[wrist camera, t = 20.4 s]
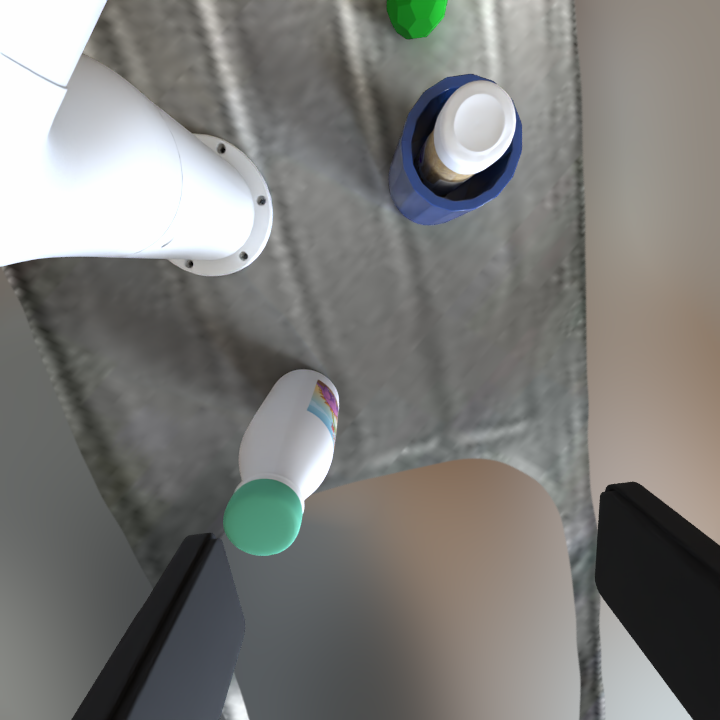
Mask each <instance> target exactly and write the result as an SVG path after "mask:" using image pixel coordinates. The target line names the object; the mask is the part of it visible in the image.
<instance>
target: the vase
mask: <svg viewBox="0 0 720 720" xmlns="http://www.w3.org/2000/svg"><path fill="white" fill-rule="evenodd" d="M479 80H484V81H490V82H493V83H495V82H494V81H492V80H489V79H486V78H483V77H480V76H477V75H474V74H466V75H459V76H452V77H447V78H444V79H443V80H441V81H440V82H438V83H437V84H435V85H434V86H432V87H431V88H429V89H427V90H426V91H425V92H424V93H423V94H422V95H421V97H420V98H419V99H418V101H417V102H416V104H415V105H414V107H413V108H412V109H411V111H410V112H409V114H408V116H407V119H406V122H405V124H404V127H403V130H402V133H401V136H400V138H399V141H398V144H397V147H396V150H395V152H394V155H393V159H392V163H391V166H390V170H389V179H388V180H389V190H390V194H391V197H392V200H393V202H394V204H395V206H396V207H397V209H398V210H399V211H400V212H401V213H402V214H403V215H404V216H405V217H406V218H408V219H409V220H411V221H413V222H415V223H418V224H422V225H437V224H441V223H446V222H448V221H450V220H452V219H455V218H457V217H459V216H461V215H463V214H466V213H468V212H470V211H472V210H474V209H476V208H478V207H480V206H482V205H483V204H485V203H487V202H488V201H490V200H492V199H493V198H495V197H497V196H498V195H499V193H500V192H501V191H502V190H503V188H504V187H505V186H506V185H507V183H508V182H509V181H510V180H511V178H512V177H513V175H514V172H515V169H516V166H517V164H518V161H519V158H520V155H521V152H522V124H521V120H520V118H519V115H518V113H517V110H516V108H515V105H514V103H513V105H514V109H515V114H516V126H515V132H514V136H513V138H512V141H511V143H510V145H509V147H508V148H507V150H506V151H505V152H504V154H503V155H502V156H501V157H500V158H499V159H498V160H496V161H495V162H494V163H493V164H491V165H490V166H488V167H487V168H486V169H484V170H482V171H480V172H478V173H475V174H474V175H473V176H472V177H470V178H469V179H468V180H466V181H465V182H464V183H462V184H461V185H460V186H458V187H457V188H455V189H454V190H453V191H451V192H450V193H448V194H447V195H446V196H445V197H444V198H442V197H439V196H436V195H435V194H434V193H433V192H432V191H431V190H429V189H428V188H427V187H426V186H425V185H424V184H423V183H422V182H421V180H420V178H419V176H418V174H417V172H416V170H415V167H414V165H413V160H414V158H415V157H416V156H417V154H418V152H419V151H420V149H421V148H422V146H423V145H424V143H425V141H426V140H427V138H428V136H429V135H430V134H431V133H432V131H433V130H434V128H435V124H436V120H437V118H438V115H439V113H440V112H441V110H442V108H443V106H444V105H445V103H446V102H447V100H448V99H449V98H450V96H451V95H452V94H453V93H454V92H455V91H456V90H457V89H458V88H460V87H461V86H463V85H465V84H467V83H469V82H473V81H479ZM495 84H496V83H495ZM511 100H512V99H511ZM512 102H513V100H512Z"/></svg>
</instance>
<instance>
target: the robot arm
mask: <svg viewBox="0 0 720 720" xmlns="http://www.w3.org/2000/svg"><path fill="white" fill-rule="evenodd" d="M106 2H107V0H0V267H1V266H5V265H10V264H14V263H18V262H23V261H28V260H34V259H41V258H50V257H115V258H151V259H168V260H169V261H170V262H171V263H173V264H174V265H176V266H178V267H180V268H181V269H183V270H185V271H188V272H191V273H194V274H197V275H204V276H222V275H228V274H231V273H234V272H237V271H240V270H241V269H243V268H245V267H246V266H248V265H250V264H251V263H252V262H253V261H254V260H255V259H256V258H257V257H258V256H259V254H260V253H261V252H262V250H263V249H264V247H265V245H266V243H267V240H268V238H269V236H270V231H271V227H272V217H273V209H272V202H271V196H270V193H269V190H268V187H267V184H266V182H265V180H264V178H263V176H262V174H261V172H260V171H259V170H258V168H257V167H256V166H255V165H254V163H253V162H252V161H251V160H250V159H249V158H248V157H247V156H246V155H245V154H244V153H243V152H242V151H241V150H239V149H238V148H237V147H235V146H234V145H233V144H231V143H229V142H227V141H225V140H223V139H221V138H218V137H214V136H211V135H207V134H192V133H191V132H189V131H188V130H187V129H186V128H184V127H183V126H182V125H181V124H179V123H178V122H177V121H176V120H175V119H173V118H172V117H171V116H170V115H168V114H167V113H166V112H165V111H163V110H162V109H161V108H160V107H158V106H157V105H156V104H155V103H153V102H152V101H151V100H150V99H148V98H147V97H146V96H145V95H144V94H143V93H141V92H140V91H139V90H138V89H137V88H136V87H134V86H133V85H132V84H131V83H129V82H128V81H127V80H125V79H124V78H123V77H121V76H120V75H119V74H117V73H116V72H115V71H113V70H112V69H110V68H109V67H107V66H105V65H104V64H102V63H100V62H99V61H97V60H95V59H93V58H91V57H89V56H87V55H85V54H83V53H82V52H83V50H84V48H85V46H86V43H87V41H88V39H89V37H90V35H91V33H92V31H93V29H94V27H95V25H96V22H97V20H98V18H99V16H100V14H101V12H102V10H103V8H104V6H105V4H106ZM223 149H226V151H225V152H224V153H222V150H223ZM262 199H265V204H261V200H262ZM244 254H247V255H248V258H247V259H245V258H244ZM191 261H192V262H193V266H191ZM595 582H596V586H597V589H598V591H599V593H600V595H601V596H602V597H603V599H604V600H605V602H606V603H607V605H608V606H609V607H610V608H611V610H612V611H613V613H614V614H615V615H616V617H617V618H618V619H619V621H620V622H621V623H622V625H623V626H624V627H625V629H626V630H627V631H628V633H629V634H630V635H631V637H632V638H633V639H634V641H635V642H636V643H637V645H638V646H639V648H640V649H641V650H642V652H643V653H644V654H645V656H646V657H647V658H648V660H649V661H650V662H651V663H652V665H653V666H654V668H655V669H656V670H657V672H658V673H659V674H660V676H661V677H662V678H663V680H664V681H665V682H666V684H667V685H668V687H669V688H670V689H671V691H672V692H673V693H674V694H675V696H676V697H677V699H678V700H679V701H680V703H681V704H682V705H683V707H684V708H685V709H686V711H687V712H688V713H689V715H690V716H691V717H692V719H693V720H720V545H718V544H717V543H716V542H714V541H713V540H712V539H711V538H709V537H708V536H706V535H705V534H704V533H703V532H701V531H700V530H699V529H698V528H696V527H695V526H694V525H692V524H691V523H690V522H688V521H687V520H686V519H685V518H683V517H682V516H681V515H679V514H678V513H677V512H675V511H674V510H673V509H672V508H670V507H669V506H668V505H666V504H665V503H664V502H662V501H661V500H660V499H659V498H657V497H656V496H654V495H653V494H652V493H650V492H649V491H648V490H647V489H645V488H644V487H643V486H642V485H640V484H638V483H636V482H627V483H618V484H611V485H608V486H607V487H606V490H605V492H602V493H601V495H600V505H599V521H598V537H597V553H596V569H595ZM244 632H245V620H244V616H243V612H242V609H241V605H240V601H239V598H238V595H237V591H236V588H235V584H234V581H233V577H232V573H231V570H230V566H229V563H228V560H227V556H226V552H225V549H224V545H223V542H222V540H221V539H220V538H217V539H216V537H215V535H214V534H213V533H205V534H197V535H189V536H187V537H186V538H185V539H184V541H183V542H182V544H181V545H180V547H179V549H178V550H177V552H176V553H175V555H174V557H173V558H172V560H171V562H170V563H169V565H168V566H167V568H166V570H165V571H164V573H163V575H162V576H161V578H160V579H159V581H158V583H157V584H156V586H155V587H154V589H153V591H152V592H151V594H150V596H149V597H148V599H147V601H146V602H145V604H144V605H143V607H142V608H141V610H140V611H139V612H138V614H137V615H136V617H135V618H134V620H133V622H132V623H131V625H130V626H129V628H128V629H127V631H126V633H125V635H124V636H123V637H122V639H121V641H120V642H119V644H118V646H117V647H116V649H115V650H114V652H113V654H112V655H111V657H110V658H109V660H108V662H107V663H106V665H105V667H104V668H103V670H102V671H101V673H100V675H99V676H98V678H97V679H96V681H95V683H94V684H93V686H92V688H91V689H90V691H89V692H88V694H87V696H86V697H85V699H84V700H83V702H82V704H81V705H80V707H79V708H78V710H77V712H76V713H75V715H74V717H73V718H72V720H219V719H220V716H221V712H222V709H223V706H224V702H225V699H226V696H227V692H228V689H229V685H230V682H231V679H232V675H233V672H234V669H235V665H236V662H237V658H238V655H239V652H240V648H241V645H242V642H243V638H244Z"/></svg>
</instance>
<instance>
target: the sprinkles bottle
mask: <svg viewBox="0 0 720 720" xmlns="http://www.w3.org/2000/svg"><path fill="white" fill-rule="evenodd" d="M515 126H516V114H515V109H514V105H513V102H512V100H511V98H510V97H509V95H508V94H507V92H506V91H505V90H504V89H503V88H501V87H500V86H499V85H497V84H495V83H493V82H490V81H484V80H479V81H473V82H469V83H467V84H465V85H463V86H461V87H460V88H458V89H457V90H456V91H455V92H454V93H453V94H452V95H451V96H450V98H449V99H448V100H447V102H446V103H445V105H444V106H443V108H442V110H441V112H440V113H439V115H438V118H437V120H436V124H435V128H434V130H433V131H432V133H431V134H430V135H429V136H428V138H427V140H426V141H425V143H424V145H423V146H422V148H421V149H420V151H419V152H418V154H417V156H416V157H415V158H414V160H413V165H414V167H415V170H416V172H417V174H418V176H419V178H420V180H421V182H422V183H423V184H424V185H425V186H426V187H427V188H428V189H429V190H431V191H432V192H433V193H434V194H435V195H436V196H439V197H442V198H444V197H445V196H446V195H447V194H448V193H450V192H451V191H453V190H454V189H455V188H457V187H458V186H460V185H461V184H462V183H464V182H465V181H466V180H468V179H469V178H470V177H472V176H473V175H474V174H475V173H478V172H480V171H482V170H484V169H486V168H487V167H488V166H490V165H491V164H493V163H494V162H495V161H496V160H498V159H499V158H500V157H501V156H502V155H503V154H504V152H505V151H506V150H507V148H508V147H509V145H510V143H511V141H512V138H513V136H514V132H515Z"/></svg>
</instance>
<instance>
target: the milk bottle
mask: <svg viewBox="0 0 720 720" xmlns="http://www.w3.org/2000/svg"><path fill="white" fill-rule="evenodd" d="M338 411H339V397H338V393H337V390H336V388H335V386H334V385H333V383H332V382H331V381H330V380H329V379H328V378H327V377H326V376H324V375H323V374H321V373H319V372H316V371H313V370H307V369H300V370H294V371H291V372H289V373H287V374H285V375H284V376H282V377H281V378H280V379H279V380H278V381H277V382H276V384H275V385H274V386H273V388H272V389H271V391H270V392H269V394H268V396H267V397H266V399H265V400H264V402H263V403H262V405H261V406H260V408H259V409H258V411H257V413H256V414H255V416H254V417H253V419H252V421H251V423H250V424H249V426H248V428H247V430H246V432H245V434H244V436H243V439H242V442H241V446H240V451H239V469H240V474H241V478H242V482H241V483H240V484H239V485H238V487H237V488H236V490H235V492H234V494H233V496H232V498H231V499H230V501H229V503H228V505H227V507H226V510H225V513H224V519H223V526H224V530H225V533H226V535H227V537H228V539H229V540H230V541H231V542H232V543H233V544H234V545H235V546H236V547H237V548H239V549H240V550H242V551H244V552H247V553H249V554H253V555H260V556H267V555H273V554H277V553H279V552H282V551H283V550H285V549H287V547H289V546H290V545H291V544H292V543H293V541H294V540H295V538H296V537H297V535H298V533H299V529H300V526H301V521H302V514H303V511H304V500H305V499H306V498H307V497H308V496H309V495H310V494H312V493H313V492H314V491H315V490H316V489H317V488H318V486H319V485H320V484H321V483H322V481H323V480H324V478H325V476H326V474H327V472H328V470H329V467H330V464H331V461H332V457H333V451H334V445H335V437H336V429H337V420H338Z"/></svg>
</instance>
